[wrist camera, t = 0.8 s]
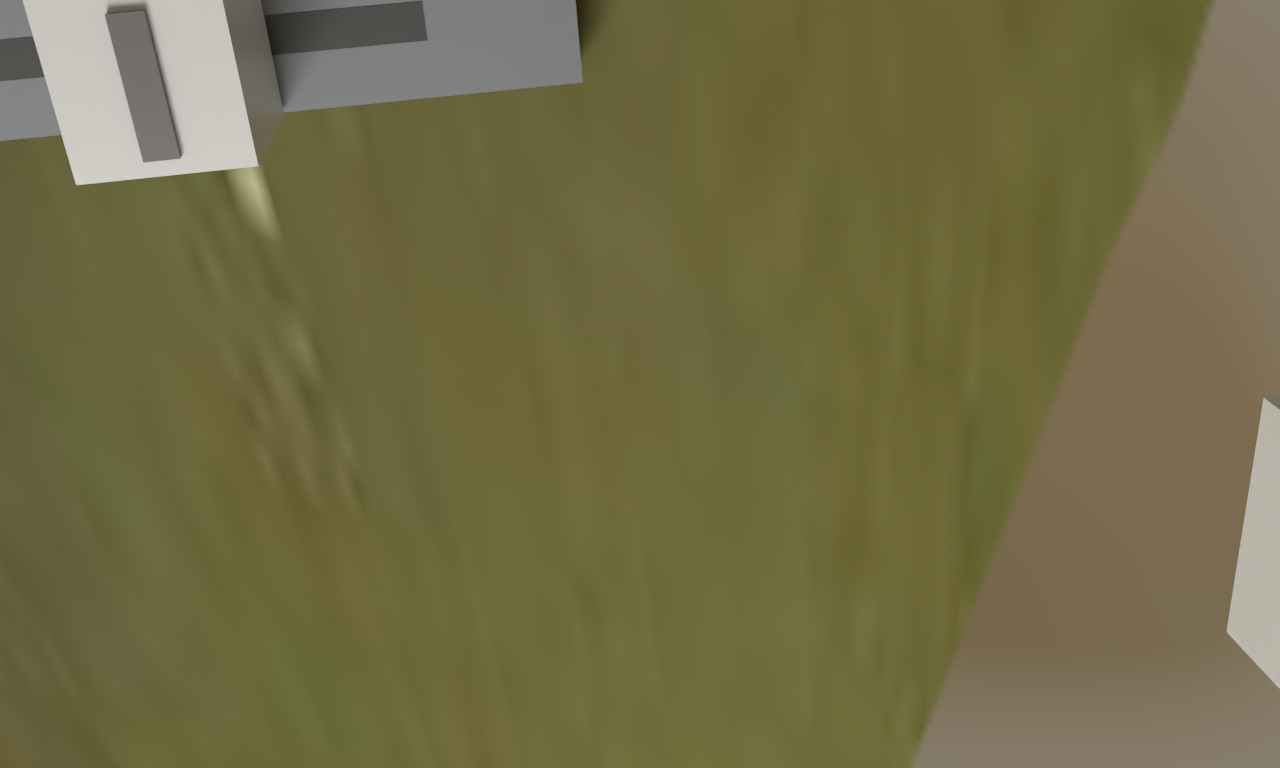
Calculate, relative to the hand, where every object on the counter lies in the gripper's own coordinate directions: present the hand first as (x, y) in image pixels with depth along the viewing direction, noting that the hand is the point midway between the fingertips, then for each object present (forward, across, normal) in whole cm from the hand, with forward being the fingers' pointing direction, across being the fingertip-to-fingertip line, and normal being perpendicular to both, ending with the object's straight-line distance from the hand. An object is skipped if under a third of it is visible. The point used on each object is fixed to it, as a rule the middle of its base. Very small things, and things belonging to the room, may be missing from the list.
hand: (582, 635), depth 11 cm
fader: (+24, -7, +2) cm, 25 cm away
